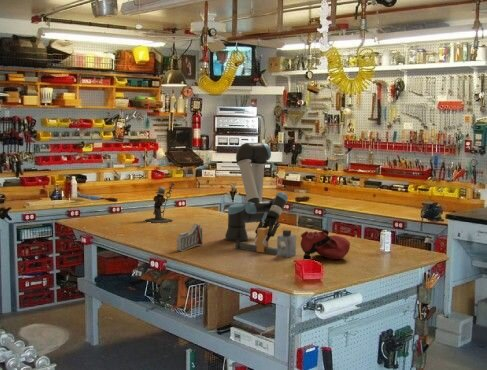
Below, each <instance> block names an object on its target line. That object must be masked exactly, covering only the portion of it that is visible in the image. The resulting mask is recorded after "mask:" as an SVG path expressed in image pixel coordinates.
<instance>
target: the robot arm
mask: <svg viewBox="0 0 487 370" xmlns="http://www.w3.org/2000/svg"><path fill="white" fill-rule="evenodd" d="M235 154H236V155H235V160H236V164H237V166H238V167H239V171H240V175H241V179H242V184H243V189H244V192H245V196H246V200H247V201H246V203H235V204H230V205H229V206H228V210H227V231H226V232H225V236H224V237H225V238H224V239H225V240H226V241H229V242H244V241H248V238H249V235H248V233H247V230H246V224H251V223H253V224H254V223H258V226H257V227H256V229H255V231H254V233H255V234H256V235H255V240H254V241H253V243H254V245H257V229H258V228H268V229H269V231H268V235H266V236H265V238H264V240H263V243H262V244H263V246H265V245H266V243H267V241H268V242H270V241H269V240H270V238H272V237H273V238H274V237H275V235H276V234H277V233H276V232H277V231H278V228H279V227H280V226H281V224H280V222H279V218H280V216H281V214H282V213H283V210H284V208H285V206H286V204H287V202H288V199H289V197H288V196H289V195H288V194H286V193H285V192H282V191H279V192H277V193H276V195H275V197H274V198H272V199H271V200H263V192H264V191H263V190H264V177H265V174H264V173H265V166H267V163H268V161H269V160H270V159H271V156H272V151H271V148H270V145H269V144H267V143H266V142H244V143H242V144H241V145H239V147H238V149H237V151H236V153H235Z"/></svg>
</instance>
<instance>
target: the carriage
mask: <svg viewBox="0 0 487 370" xmlns="http://www.w3.org/2000/svg"><path fill="white" fill-rule="evenodd" d="M256 229H257V228H256ZM268 231H269V227H267V228H258V229H257V234H256V235H257V251H256V252H258V253H264V249H265V247H270V246H269V241H267V243H266V245H265V246H263V244H262V243H263V240H264V238H265V236H266V235H268ZM264 254H265V253H264Z"/></svg>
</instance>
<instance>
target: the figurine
mask: <svg viewBox="0 0 487 370" xmlns="http://www.w3.org/2000/svg"><path fill="white" fill-rule="evenodd" d="M175 186H176V183H173V182H171V184H170V187H169V190H168V191H167V192H166V187H164V186H159V187H158V189H157V190H158V191H155V193H154V194H157V195H155V196H154V197H153V201H154V206H153V210H154V211H153V212H152V214H153V215H154V217H152V218H151V217H150V218H147V219H144V220H145V221H146V222H145V223H147V222H151V223H150V224H157V223H160V224H169V223H168V222H170V223H172V221H173V222H174V220H173V219H171V218H168V217H164V214H165V211H166V210H165V209H166V205H167V202H168V199H170V198H171V196H172V194H171V193H172V192H173V188H174V187H175ZM167 194H169V196H168V195H167ZM163 205H164V208H163V210H162V208H161V207H163Z"/></svg>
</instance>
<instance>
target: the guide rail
mask: <svg viewBox="0 0 487 370" xmlns="http://www.w3.org/2000/svg"><path fill="white" fill-rule="evenodd" d="M234 247H235V249H237V250H245V251H251V252H257V245H255V244H251V243H244V241H236V242H235V245H234ZM264 254H270V255H276V256H277V247H270V246H269V247H265V249H264Z"/></svg>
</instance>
